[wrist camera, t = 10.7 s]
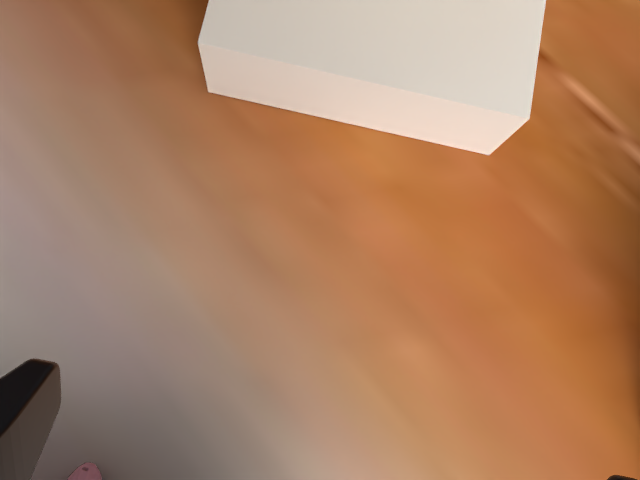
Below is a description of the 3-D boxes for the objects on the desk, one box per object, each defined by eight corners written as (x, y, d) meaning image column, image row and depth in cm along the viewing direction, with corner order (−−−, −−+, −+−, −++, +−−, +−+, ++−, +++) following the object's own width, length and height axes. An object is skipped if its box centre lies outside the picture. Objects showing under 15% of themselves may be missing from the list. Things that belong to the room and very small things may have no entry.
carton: (488, 155, 26) (529, 118, 22) (208, 91, 25) (197, 42, 21) (517, -31, 27) (559, -96, 23) (255, -94, 27) (254, -171, 23)
